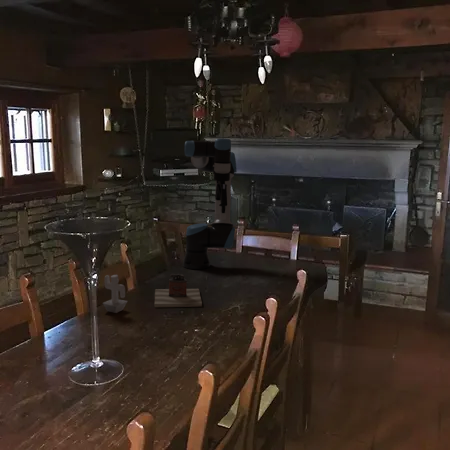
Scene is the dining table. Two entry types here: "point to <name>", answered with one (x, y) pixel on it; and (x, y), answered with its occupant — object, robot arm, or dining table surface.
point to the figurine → (114, 294)
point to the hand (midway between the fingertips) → (220, 216)
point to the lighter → (177, 286)
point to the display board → (177, 299)
